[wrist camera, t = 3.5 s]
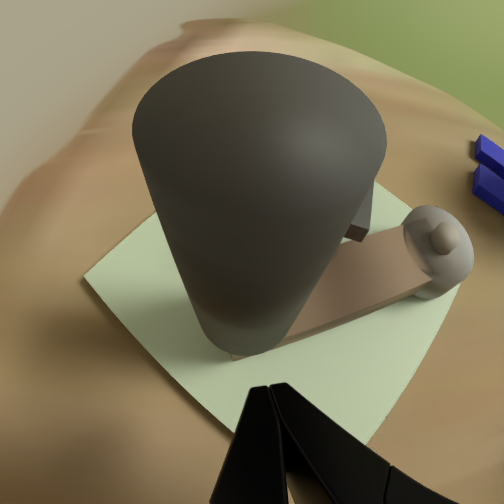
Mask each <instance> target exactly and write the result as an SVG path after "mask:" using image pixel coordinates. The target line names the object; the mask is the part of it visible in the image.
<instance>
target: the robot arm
mask: <svg viewBox="0 0 504 504" xmlns="http://www.w3.org/2000/svg"><path fill="white" fill-rule="evenodd" d="M287 485H288V487H289V490H290V493H291V495H292V498H293V500H294V503H295V504H459V503H457V502H454V501H452V500H450V499H448V498H446V497H444V496H442V495H440V494H438V493H436V492H434V491H432V490H430V489H429V488H427V487H425V486H423V485H422V484H420V483H418V482H417V481H415V480H414V479H412V478H411V477H409V476H408V475H406V474H405V473H403V472H402V471H400V470H399V469H397V468H396V467H395V466H390V463H389V462H387V461H386V460H385V459H383V458H382V457H381V456H379V455H378V454H377V453H375V452H374V451H372V450H371V449H370V448H368V447H367V446H366V445H364V444H363V443H362V442H360V441H359V440H358V439H357V438H355V437H354V436H353V435H351V434H350V433H349V432H347V431H346V430H345V429H344V428H342V427H341V426H340V425H338V424H337V423H336V422H335V421H333V420H332V419H331V418H330V417H328V416H327V415H326V414H325V413H323V412H322V411H321V410H320V409H318V408H317V407H316V406H315V405H313V404H312V403H311V402H310V401H309V400H307V399H306V398H305V397H304V396H303V395H301V394H300V393H299V392H298V391H297V390H295V389H294V388H293V387H292V386H291V385H289V384H288V383H286V382H282V383H276V384H271V385H269V387H268V386H266V385H263V386H256V387H251V388H250V389H249V391H248V394H247V397H246V400H245V403H244V406H243V409H242V412H241V415H240V418H239V421H238V424H237V426H236V429H235V432H234V435H233V438H232V441H231V444H230V446H229V449H228V452H227V455H226V457H225V460H224V463H223V466H222V469H221V471H220V474H219V477H218V479H217V482H216V485H215V487H214V490H213V493H212V495H211V498H210V501H209V503H210V504H289V502H288V491H287Z"/></svg>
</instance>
